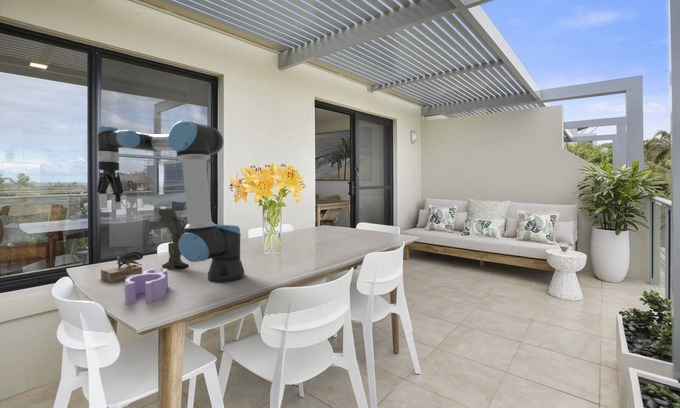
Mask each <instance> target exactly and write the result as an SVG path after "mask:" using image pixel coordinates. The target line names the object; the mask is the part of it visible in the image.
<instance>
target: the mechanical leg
mask: <svg viewBox="0 0 680 408" xmlns="http://www.w3.org/2000/svg"><path fill="white" fill-rule="evenodd" d="M158 214H159V218H158V220H159V221H161V222H163V224H165V225H166V228H167V229H168V231H169V232H170V234H171V235H172V236H171V239H172V242H169V243H168V245H167V246H168V248H167V250H168V254H169V255H168V256H169V257H168V260H167V262H166V263H163V264H162V265H161V269H167V270H168V269H169V270H184V269H187V268H189V264H188V263H185V262H184V261H182V259H181V256H182V254H181V252H180V250H179V245H178V243H179V239H180V237H181V236H182V235H183V234H184V227H185V226H186V224H185V222H184V220H182V219H181V218H180V217H178V216H177V213H176V211H175V210H174V209H173V208H171V207H166V208H165V209H163V208H162V209H159V210H158Z"/></svg>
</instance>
